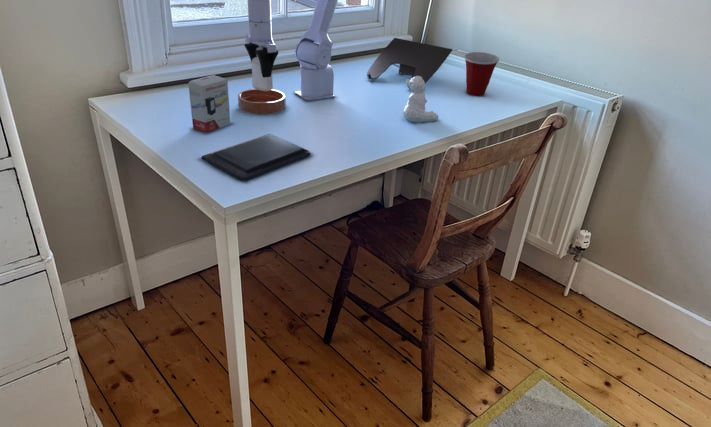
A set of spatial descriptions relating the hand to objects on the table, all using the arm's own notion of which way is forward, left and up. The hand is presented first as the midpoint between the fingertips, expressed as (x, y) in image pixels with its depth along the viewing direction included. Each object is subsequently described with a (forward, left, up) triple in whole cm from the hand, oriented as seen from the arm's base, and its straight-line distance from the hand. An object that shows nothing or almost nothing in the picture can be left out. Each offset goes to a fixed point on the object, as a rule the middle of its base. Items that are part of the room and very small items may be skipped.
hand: (262, 73), depth 137 cm
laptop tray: (-55, -8, -10) cm, 56 cm away
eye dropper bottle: (0, 0, -4) cm, 4 cm away
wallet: (+14, +29, -10) cm, 34 cm away
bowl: (0, -1, -10) cm, 10 cm away
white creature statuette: (-35, +24, -10) cm, 44 cm away
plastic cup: (-68, +13, -10) cm, 70 cm away
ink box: (+17, +7, -10) cm, 21 cm away
